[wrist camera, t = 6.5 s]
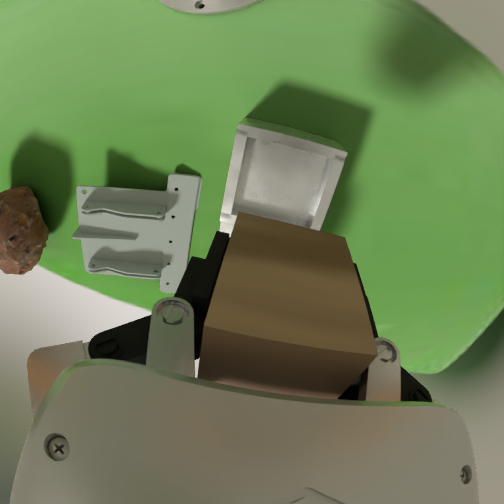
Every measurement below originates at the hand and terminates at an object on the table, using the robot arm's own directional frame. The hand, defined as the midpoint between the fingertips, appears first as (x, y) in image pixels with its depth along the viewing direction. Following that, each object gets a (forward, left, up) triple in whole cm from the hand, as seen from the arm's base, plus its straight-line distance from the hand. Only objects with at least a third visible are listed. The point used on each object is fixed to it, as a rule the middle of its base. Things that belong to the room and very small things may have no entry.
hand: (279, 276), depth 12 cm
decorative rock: (+11, -31, -15) cm, 36 cm away
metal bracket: (+9, -13, -15) cm, 22 cm away
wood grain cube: (0, 0, -1) cm, 1 cm away
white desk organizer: (+4, 0, -15) cm, 15 cm away
